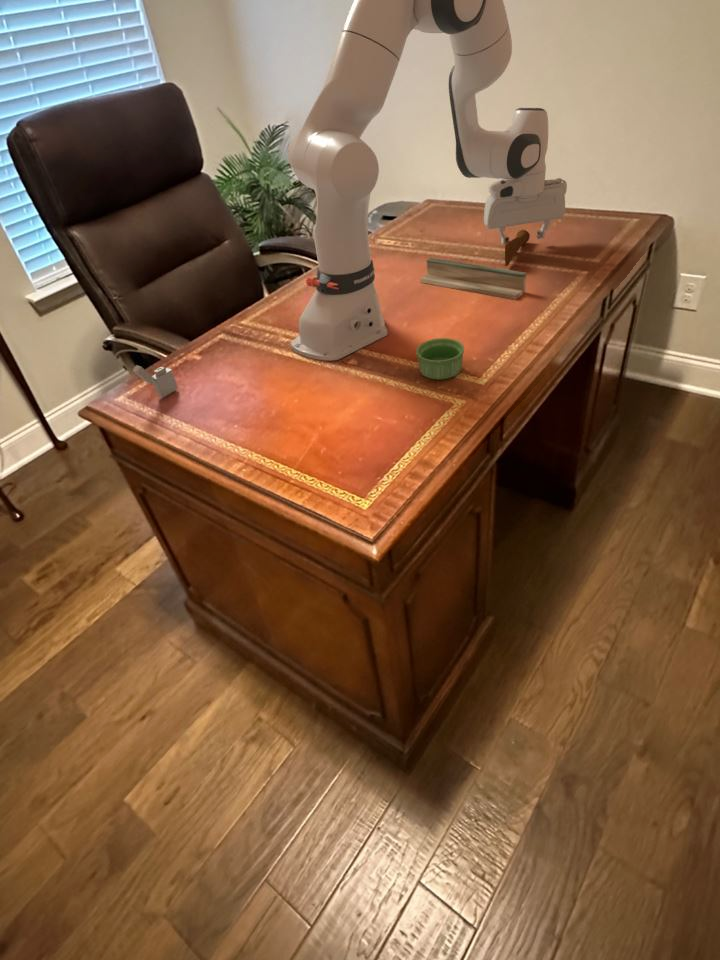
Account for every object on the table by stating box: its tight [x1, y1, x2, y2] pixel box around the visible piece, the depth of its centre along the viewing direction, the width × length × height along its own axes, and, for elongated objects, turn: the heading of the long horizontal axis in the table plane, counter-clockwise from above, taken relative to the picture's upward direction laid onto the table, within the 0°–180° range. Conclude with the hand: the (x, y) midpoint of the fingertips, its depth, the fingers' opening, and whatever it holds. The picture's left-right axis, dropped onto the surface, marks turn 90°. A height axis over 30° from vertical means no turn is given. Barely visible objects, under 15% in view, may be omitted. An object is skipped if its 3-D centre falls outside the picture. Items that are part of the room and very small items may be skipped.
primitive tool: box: [504, 229, 531, 267], centre depth 149 cm, size 19×6×4 cm
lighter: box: [132, 364, 179, 398], centre depth 115 cm, size 7×2×8 cm, turn 143°
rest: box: [420, 257, 527, 301], centre depth 139 cm, size 4×26×4 cm, turn 51°
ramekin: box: [415, 337, 465, 380], centre depth 111 cm, size 9×9×4 cm
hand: (522, 240), depth 153 cm, fingers open, 8 cm apart
